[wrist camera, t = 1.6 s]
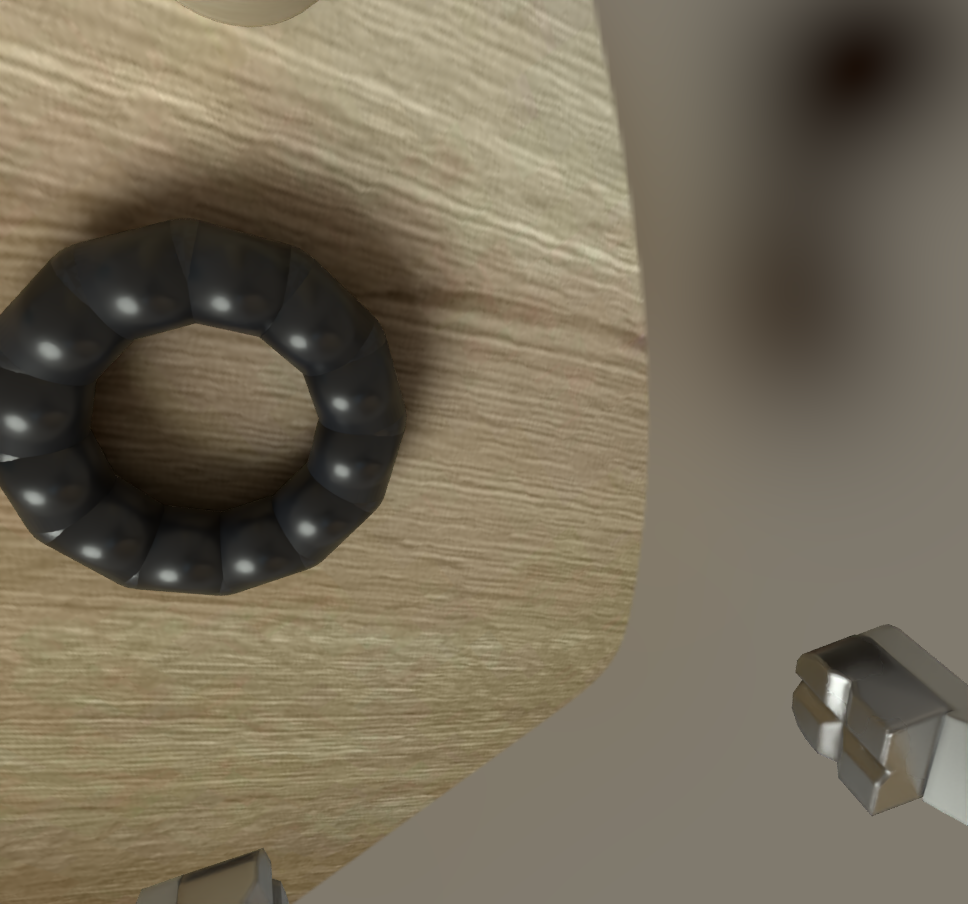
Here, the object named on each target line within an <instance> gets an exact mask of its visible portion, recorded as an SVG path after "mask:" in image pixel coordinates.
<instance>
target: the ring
mask: <svg viewBox="0 0 968 904" xmlns="http://www.w3.org/2000/svg"><path fill="white" fill-rule="evenodd" d="M194 323H198V324H202V325H207V326H211V327H216V328H221V329H225V330H230V331H234V332H239V333H244V334H248V335H253V336H257V337H260V338H261V339H262V340H264V341H265V342H266V343H267V344H268V345H269V346H271V347H272V348H273V349H274V350H275V351H277V352H278V353H279V354H280V355H281V356H283V357H284V358H285V359H286V360H287V361H289V362H290V363H291V364H292V365H293V366H295V367H296V368H297V369H298V370H299V371H301V372H302V373H303V375H304V378H305V381H306V384H307V386H308V389H309V392H310V395H311V398H312V401H313V404H314V407H315V409H316V412H317V415H318V418H319V419H318V423H317V427H316V431H315V435H314V439H313V443H312V447H311V451H310V455H309V459H308V462H307V463H306V464H305V465H304V466H303V467H302V468H301V469H300V470H299V471H298V472H297V473H296V474H295V475H294V476H293V477H292V478H291V479H290V480H288V481H287V482H286V483H285V484H284V485H283V486H282V487H281V488H280V489H279V490H278V491H277V492H276V493H275V494H274V495H273V496H270V497H267V498H264V499H260V500H257V501H254V502H251V503H248V504H245V505H241V506H238V507H235V508H232V509H229V510H225V511H222V512H219V511H210V510H202V509H194V508H186V507H178V506H169V505H163V504H161V503H160V502H158V501H156V500H155V499H153V498H152V497H150V496H149V495H147V494H145V493H144V492H142V491H141V490H139V489H137V488H136V487H134V486H133V485H131V484H129V483H128V482H126V481H125V480H123V479H121V478H120V477H118V476H117V475H115V474H114V472H113V470H112V468H111V466H110V464H109V462H108V461H107V459H106V457H105V455H104V453H103V451H102V450H101V448H100V446H99V444H98V442H97V440H96V438H95V437H94V435H93V433H92V431H91V429H90V428H91V420H92V412H93V404H94V396H95V388H96V380H97V379H98V378H99V376H100V375H101V374H102V373H103V372H104V371H105V370H106V369H107V368H108V367H109V366H110V365H111V364H112V363H113V362H114V361H115V360H116V359H117V358H118V356H119V355H120V354H121V353H122V352H123V351H124V350H125V349H126V348H127V347H128V346H129V345H130V344H131V343H132V342H133V341H134V340H135V339H139V338H143V337H146V336H150V335H154V334H157V333H161V332H165V331H169V330H172V329H176V328H180V327H183V326H187V325H191V324H194ZM405 425H406V409H405V404H404V401H403V397H402V394H401V390H400V386H399V383H398V379H397V375H396V372H395V368H394V365H393V361H392V357H391V354H390V350H389V346H388V343H387V339H386V336H385V333H384V330H383V328H382V326H381V325H380V323H379V322H378V320H377V319H376V318H375V317H374V316H373V315H372V314H371V313H370V312H369V311H368V310H367V309H366V308H365V307H364V306H363V305H362V304H361V303H360V302H358V301H357V300H356V299H355V298H354V297H353V296H352V295H351V294H350V293H349V292H348V291H347V290H346V289H345V288H344V287H343V286H342V285H341V284H340V283H339V282H338V281H337V280H335V279H334V278H333V277H332V276H331V275H330V274H329V273H328V272H327V271H326V270H325V269H324V268H323V267H322V266H321V265H320V264H319V263H318V262H317V261H316V260H315V259H313V258H312V257H311V256H310V255H309V254H307V253H306V252H304V251H303V250H301V249H299V248H297V247H294V246H291V245H288V244H284V243H280V242H277V241H273V240H269V239H266V238H262V237H258V236H255V235H251V234H247V233H244V232H240V231H236V230H232V229H229V228H225V227H221V226H218V225H214V224H210V223H207V222H203V221H199V220H194V219H175V220H169V221H165V222H161V223H157V224H153V225H149V226H145V227H141V228H137V229H133V230H129V231H125V232H121V233H117V234H112V235H108V236H104V237H100V238H96V239H92V240H88V241H84V242H80V243H77V244H74V245H71V246H69V247H66V248H64V249H63V250H61V251H59V252H58V253H57V254H56V255H55V256H54V257H52V258H51V260H50V261H49V262H48V263H47V264H46V265H45V266H44V267H43V268H42V269H41V271H40V272H39V273H38V274H37V275H36V276H35V277H34V278H33V279H32V280H31V281H30V283H29V284H28V285H27V286H26V287H25V288H24V289H23V290H22V291H21V292H20V294H19V295H18V296H17V297H16V298H15V299H14V300H13V301H12V302H11V303H10V304H9V306H8V307H7V308H6V309H5V310H4V311H3V312H2V313H1V314H0V487H1V489H2V490H3V492H4V493H5V495H6V496H7V498H8V499H9V501H10V503H11V504H12V506H13V507H14V509H15V510H16V512H17V513H18V515H19V517H20V518H21V520H22V521H23V523H24V524H25V526H26V527H27V529H28V530H29V532H30V533H31V534H32V535H33V536H34V537H35V538H36V539H38V540H39V541H40V542H42V543H44V544H45V545H47V546H49V547H51V548H53V549H55V550H57V551H58V552H60V553H62V554H64V555H66V556H68V557H69V558H71V559H73V560H75V561H77V562H79V563H81V564H82V565H84V566H86V567H88V568H90V569H92V570H94V571H95V572H97V573H99V574H101V575H103V576H105V577H106V578H108V579H110V580H112V581H114V582H116V583H117V584H120V585H122V586H124V587H128V588H133V589H140V590H153V591H166V592H178V593H191V594H204V595H217V596H218V595H231V594H235V593H238V592H241V591H244V590H247V589H250V588H253V587H256V586H259V585H262V584H265V583H268V582H271V581H274V580H277V579H280V578H283V577H286V576H289V575H292V574H295V573H298V572H301V571H304V570H307V569H310V568H312V567H314V566H316V565H318V564H319V563H320V562H322V561H323V560H324V559H325V558H326V557H327V556H328V555H329V554H330V553H331V552H332V551H334V550H335V549H336V548H337V547H338V546H339V545H340V544H341V543H342V542H343V541H344V540H345V539H346V538H347V537H348V536H349V535H350V534H351V533H352V532H353V531H354V530H355V529H356V528H358V527H359V526H360V525H361V524H362V523H363V522H364V521H365V520H366V519H367V518H368V517H369V516H370V515H371V514H372V513H373V512H374V511H375V510H376V509H377V508H378V506H379V505H380V504H381V502H382V500H383V498H384V496H385V493H386V490H387V486H388V483H389V480H390V476H391V473H392V470H393V466H394V463H395V460H396V456H397V453H398V450H399V446H400V443H401V440H402V437H403V433H404V430H405Z"/></svg>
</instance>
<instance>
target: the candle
mask: <svg viewBox="0 0 968 904" xmlns="http://www.w3.org/2000/svg"><path fill="white" fill-rule="evenodd" d="M176 1H177V2H179V3H180V4H181V5H183V6H185V7H186V8H188V9H190V10H192V11H194V12H195V13H197V14H199V15H201V16H204V17H206V18H209V19H211V20H214V21H217V22H221V23H225V24H228V25H235V26H243V27H261V26H267V25H273V24H277V23H280V22H283V21H286V20H289V19H291V18H293V17H295V16H296V15H298V14H300V13H302V12H303V11H305V10H306V9H307V8H309V7H310V6H311V5H313V4H314V3H315V2H317V1H318V0H176Z"/></svg>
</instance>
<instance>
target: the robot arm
mask: <svg viewBox="0 0 968 904" xmlns="http://www.w3.org/2000/svg"><path fill="white" fill-rule="evenodd" d="M796 673H797V674H798V676H799V677H800V678H801V679H802V681H801V683H800V684H799V686H798V687H797V688H796V690H795V691H794V692H793V702H792V703H793V704H792V709H793V713H794V716H795V719H796V722H797V725H798V727H799V729H800V730H801V732H802V733H803V735H804V737H805V739H806V740H807V741H808V742H809V744H810V745H811V746H812V747H813V748H814V750H815V751H816V752H817V753H818V754H820V755H823V756H825V757H827V758H829V759H831V760H834V761H836V762H837V768H838V777H839V779H840V780H841V781H842V782H843V783H844V785H845V786H846V787H847V788H848V789H849V790H850V792H851V793H852V794H853V795H854V796H855V797H856V798H857V800H858V801H859V802H860V803H861V804H862V805H863V807H864V808H865V809H866V810H867V811H868V812H869V813H870V814H871V816H874V815H876V814H879V813H882V812H884V811H887V810H890V809H892V808H895V807H898V806H900V805H903V804H906V803H908V802H911V801H913V800H916V799H919V798H921V797H923V801H924V802H926V803H927V804H929V805H931V806H933V807H935V808H936V809H938V810H940V811H942V812H944V813H945V814H947V815H949V816H951V817H953V818H954V819H956V820H958V821H960V822H962V823H963V824H965V825H967V826H968V685H967V684H966V683H965V682H964V681H962V680H961V679H960V678H959V677H957V676H956V675H955V674H954V673H953V672H951V671H950V670H949V669H948V668H947V667H945V666H944V665H943V664H942V663H940V662H939V661H938V660H937V659H936V658H934V657H933V656H932V655H930V654H929V653H928V652H927V651H926V650H925V649H923V648H922V647H921V646H920V645H919V644H917V643H916V642H915V641H914V640H912V639H911V638H910V637H909V636H908V635H906V634H905V633H904V632H902V630H900V629H899V628H897V627H895V626H892V625H889V624H887V625H882V626H879V627H876V628H874V629H871V630H869V631H867V632H863V633H861V634H858V635H852V636H849V637H847V638H844V639H841V640H839V641H836V642H833V643H831V644H828V645H826V646H823V647H820V648H818V649H815V650H812V651H810V652H807V653H804V654H802V655H801V657H800V658H799V659H798V660H797V666H796ZM136 904H289V902H288V899H287V896H286V892H285V890H284V888H283V886H282V884H281V881H278V880H275V879H272V872H271V861H270V859H269V857H268V855H267V854H266V852H265V850H264V848H261V849H258V850H255V851H252V852H250V853H247V854H244V855H241V856H238V857H235V858H232V859H229V860H226V861H223V862H220V863H217V864H214V865H211V866H208V867H205V868H202V869H199V870H196V871H193V872H190V873H187V874H183V875H181V876H178V877H175V878H172V879H169V880H166V881H164V882H161V883H158V884H155V885H152V886H150V887H147V888H144V889H142V890H141V892H140V894H139V897H138V899H137V902H136Z"/></svg>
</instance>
